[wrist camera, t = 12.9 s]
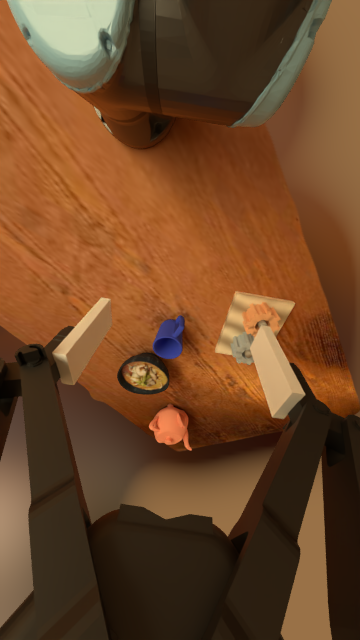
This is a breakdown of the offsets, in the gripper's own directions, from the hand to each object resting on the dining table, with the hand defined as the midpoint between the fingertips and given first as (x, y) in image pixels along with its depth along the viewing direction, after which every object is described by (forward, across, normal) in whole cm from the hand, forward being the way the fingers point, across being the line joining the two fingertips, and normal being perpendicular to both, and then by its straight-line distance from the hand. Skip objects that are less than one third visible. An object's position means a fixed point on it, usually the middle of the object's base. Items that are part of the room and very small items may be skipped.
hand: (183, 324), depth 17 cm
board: (+35, +22, -22) cm, 47 cm away
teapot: (+35, +6, -75) cm, 83 cm away
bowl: (+35, -8, -44) cm, 57 cm away
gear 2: (+33, +22, -17) cm, 43 cm away
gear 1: (+33, +22, -27) cm, 48 cm away
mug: (+35, -1, -25) cm, 43 cm away
